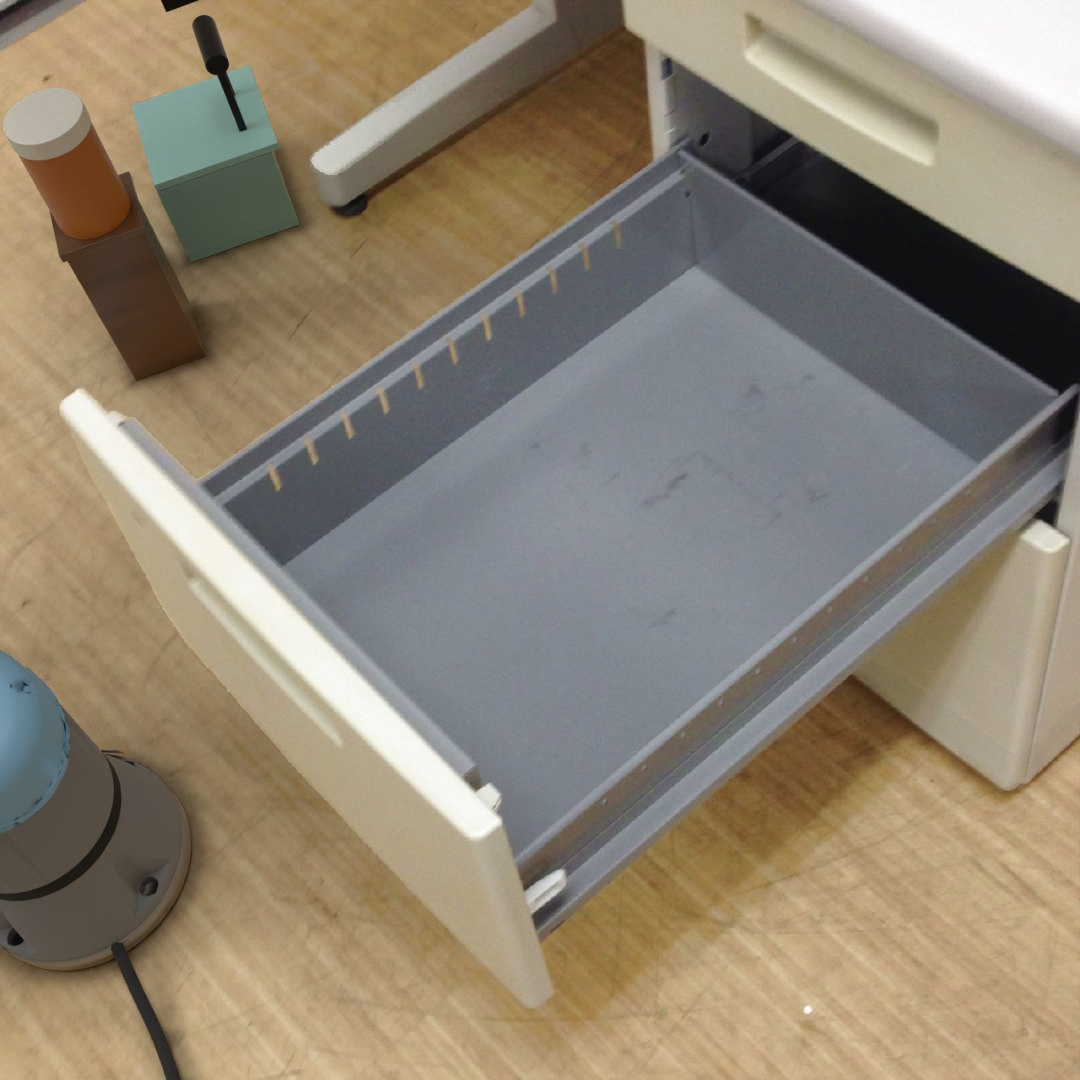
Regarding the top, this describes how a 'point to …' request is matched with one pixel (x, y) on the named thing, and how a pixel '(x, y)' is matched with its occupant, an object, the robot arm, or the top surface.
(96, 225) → the amber jar
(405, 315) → the top surface
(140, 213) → the plinth
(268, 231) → the teal open box
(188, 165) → the teal box lid
